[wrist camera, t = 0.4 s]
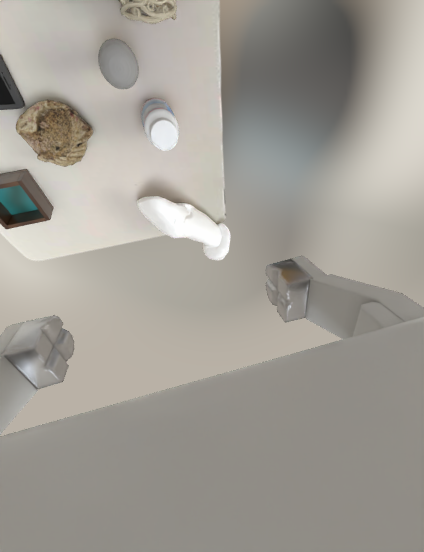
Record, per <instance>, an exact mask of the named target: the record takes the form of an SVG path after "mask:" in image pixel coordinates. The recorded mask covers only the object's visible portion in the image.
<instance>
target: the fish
mask: <svg viewBox="0 0 424 552" xmlns="http://www.w3.org/2000/svg"><path fill="white" fill-rule="evenodd" d="M137 206H138V207H139V209H140V211H141V212H142V214H143V215H144V216H145V217H146V218H147V219H148V220H149V221H150V222H151V223H152V224H153V225H154V226H155V227H156V228H157V229H159V230H160V231H161V232H163V233H165V234H167V235H169V236H171V237H172V238H184V237H186V238H189V239H192V240H195V241H199V242H202V243H203V250H204V254H205V255H206V256H207V257H208V258H210V259H214V260H222V259H224V257H225V255H226V254H227V253H228V251H229V249H228V248H229V243H230V232H229V229H228V228H227V227H226V225H225V224H223V223H220V224H218V225H217V224H216V223H215V222H214V221H212V220H211V219H210V218H209V217H208V216H207V215H206V214H204V213H203V212H200V211H199V210H197V209H196V208H195V207H194V206H192V205H190V204H186V203H177V204H175V203H173V202H171V201H169V200H167V199H165V198H162V197H160V196H152V197H143V198H141V199H139V200H137Z"/></svg>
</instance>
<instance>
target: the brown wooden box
mask: <svg viewBox="0 0 424 552" xmlns="http://www.w3.org/2000/svg"><path fill="white" fill-rule="evenodd" d="M52 211H53V206H52V205H51V203H50V202H49V201H48V199H47V198H46V196H45V195H44V193H43V192H42V190H41V189H40V188H39V186H38V185H37V183H36V182H35V180H34V179H33V177H32V176H31V175H30V173H29V172H28V170H27V169H25V170H20V171H15V172H9V173H4V174H0V224H1V225H2V226H3V227H4V228H5V229H10V228H14V227H19V226H24V225H28V224H33V223H38V222H43V221H46V220H50V219H51V215H52Z"/></svg>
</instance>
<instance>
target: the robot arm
mask: <svg viewBox="0 0 424 552" xmlns="http://www.w3.org/2000/svg"><path fill="white" fill-rule="evenodd" d="M266 275H267V276H268V277H269V279H268V280H267V282H266V291H267V295H268V298H269V300H270V301H271V303H272V304H273V305H275V306H277V312H278V313H279V315H280V316H281V317H282V319H283V320H284V322H289V321H294V320H298V319H302V318H306V319H307V320H309V321H311V322H313V323H315V324H316V325H318V326H320V327H322V328H324V329H326V330H327V331H329V332H331V333H333V334H335V335H337V336H338V337H340V338H342V339H343V340H339V341H336V342H332V343H329V344H325V345H322V346H318V347H315V348H311V349H308V350H304V351H301V352H297V353H294V354H290V355H287V356H283V357H280V358H276V359H272V360H269V361H265V362H262V363H258V364H255V365H251V366H248V367H244V368H240V369H237V370H233V371H230V372H226V373H223V374H219V375H216V376H212V377H209V378H205V379H202V380H198V381H194V382H191V383H188V384H184V385H180V386H177V387H174V388H170V389H166V390H163V391H159V392H156V393H152V394H149V395H145V396H142V397H138V398H135V399H131V400H128V401H124V402H121V403H117V404H113V405H110V406H107V407H103V408H99V409H96V410H92V411H89V412H85V413H82V414H78V415H74V416H71V417H67V418H64V419H60V420H57V421H54V422H50V423H46V424H43V425H39V426H36V427H32V428H29V429H25V430H22V431H18V432H14V433H11V434H8V435H4V436H0V552H424V308H423V307H422V306H420V305H419V304H417V303H416V302H414V301H413V300H411V299H410V298H408V297H407V296H405V295H404V294H402V293H399V292H396V291H392V290H388V289H384V288H380V287H377V286H373V285H369V284H365V283H362V282H358V281H354V280H350V279H346V278H343V277H339V276H335V275H332V274H330V275H326V274H325V273H324V272H323V271H321V270H320V269H319V268H318V267H317V266H315V265H314V264H313V263H312V262H310V261H309V260H308V259H307V258H305V257H304V256H299V257H295V258H292V259H289V260H285V261H281V262H277V263H273V264H269V265H267V266H266ZM62 326H63V322H62V321H61V319H60V318H59V317H58V316H55V315H53V316H49V317H44V318H40V319H35V320H31V321H26V322H22V323H18V324H13V325H10V326H8V327H7V328H6V329H5V330H4V332H3V333H2V334H1V336H0V434H1V433H2V432H3V431H4V430H5V428H6V427H7V426H8V425H9V424H10V422H11V421H12V420H13V419H14V418H15V417H16V415H17V414H18V413H19V412H20V411H21V410H22V408H23V407H24V406H25V405H26V404H27V403H28V401H29V400H30V399H31V398H32V397H33V396H34V394H35V393H36V392H37V389H41V388H44V387H47V386H51V385H54V384H58V383H61V382H63V380H64V377H65V375H66V372H67V369H68V364H67V363H66V361H67V360H68V359H69V358H70V357H71V356H72V355H73V351H74V340H73V337H72V335H71V334H70V332H69V331H67V330H65V329H63V328H62Z"/></svg>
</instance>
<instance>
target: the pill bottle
mask: <svg viewBox="0 0 424 552" xmlns="http://www.w3.org/2000/svg"><path fill="white" fill-rule="evenodd" d="M141 119H142V123H143V127H144V130H145V134H146V136H147V138H148V140H149V141H150V142H151V143H152V144H153V145H155V146H156V147H157V148H159V149H160V150H165V151H166V150H170V149H172V148H173V147H174V146H175V145H176V143H177V141H178V135H179V125H178V122H177V120H176V118H175V116H174V114H173V112H172V110H171V109H170V107H169V105H168V104H167V103H166V102H165V101H163V100H161V99H158V98H153V99H150V100H148V101H146V102H145V104H144V105H143V107H142V110H141Z"/></svg>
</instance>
